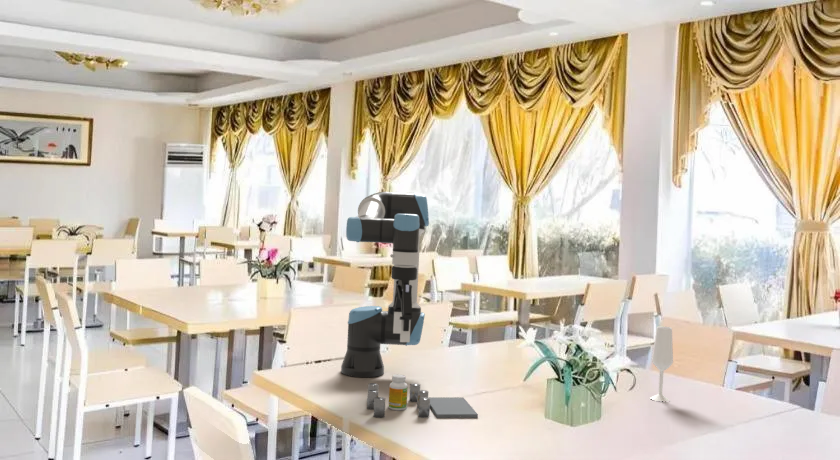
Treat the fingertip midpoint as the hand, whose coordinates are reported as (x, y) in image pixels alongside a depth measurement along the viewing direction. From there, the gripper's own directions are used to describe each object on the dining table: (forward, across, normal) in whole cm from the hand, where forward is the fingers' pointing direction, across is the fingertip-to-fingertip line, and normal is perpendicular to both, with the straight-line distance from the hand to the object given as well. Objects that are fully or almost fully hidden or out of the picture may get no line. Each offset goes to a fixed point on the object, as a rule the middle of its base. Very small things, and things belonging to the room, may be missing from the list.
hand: (401, 337), depth 222 cm
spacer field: (+21, 0, 0) cm, 21 cm away
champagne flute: (+21, -9, +89) cm, 92 cm away
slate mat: (+21, +1, +16) cm, 26 cm away
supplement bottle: (+21, 0, 0) cm, 21 cm away
